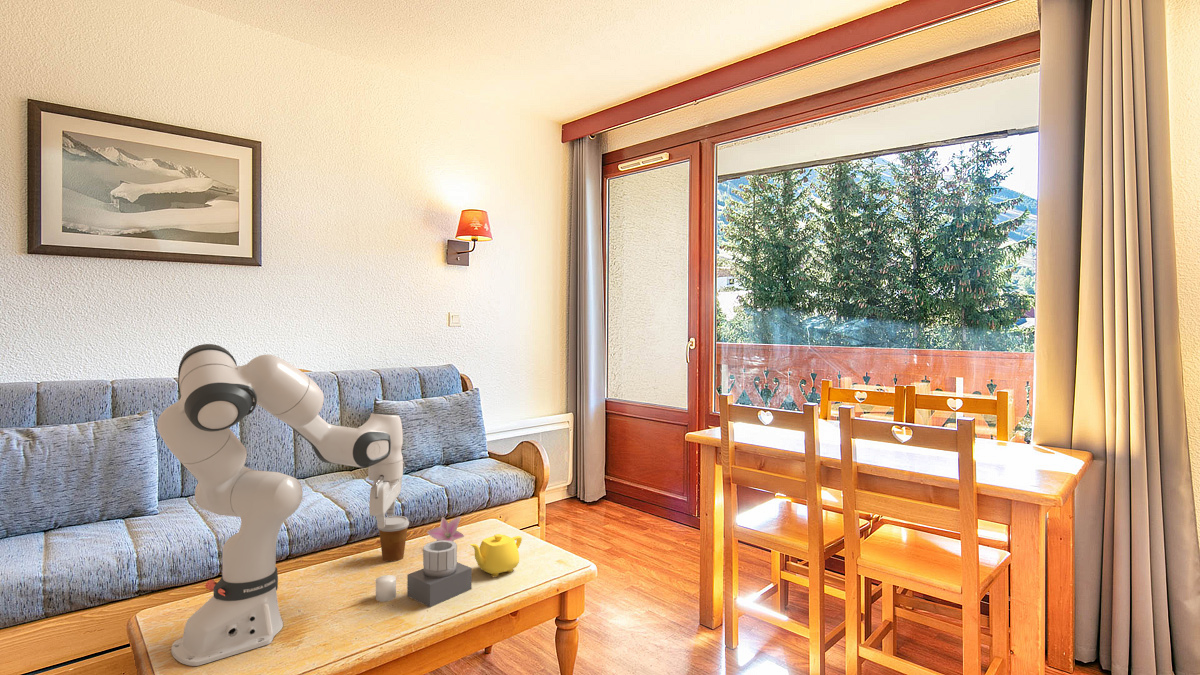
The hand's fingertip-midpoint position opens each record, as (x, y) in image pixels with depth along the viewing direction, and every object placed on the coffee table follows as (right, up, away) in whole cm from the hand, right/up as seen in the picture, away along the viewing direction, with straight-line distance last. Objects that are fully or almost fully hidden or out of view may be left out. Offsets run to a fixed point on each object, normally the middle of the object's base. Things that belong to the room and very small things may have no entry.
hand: (386, 521), depth 165 cm
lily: (+7, -20, +36) cm, 42 cm away
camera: (+14, -21, +4) cm, 25 cm away
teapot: (+27, -21, +19) cm, 39 cm away
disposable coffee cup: (-7, -20, +27) cm, 35 cm away
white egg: (0, -21, 0) cm, 21 cm away
